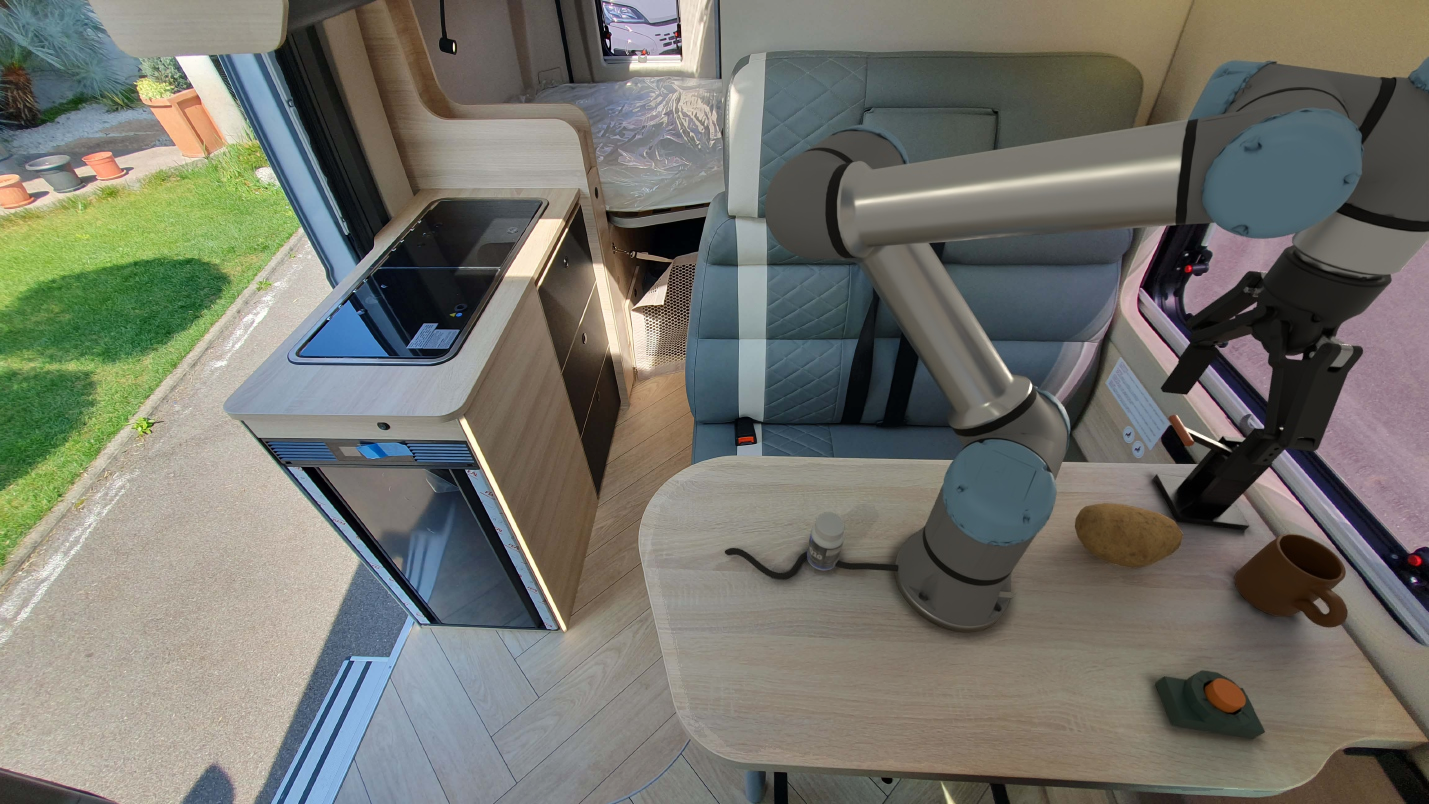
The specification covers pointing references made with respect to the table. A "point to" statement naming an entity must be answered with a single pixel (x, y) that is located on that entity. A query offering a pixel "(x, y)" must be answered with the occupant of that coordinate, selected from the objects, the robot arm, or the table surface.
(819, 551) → the pill bottle
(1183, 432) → the lever
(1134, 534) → the potato
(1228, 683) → the button
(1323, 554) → the mug
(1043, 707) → the table surface
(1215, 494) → the bracket
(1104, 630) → the table surface
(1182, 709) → the button block
